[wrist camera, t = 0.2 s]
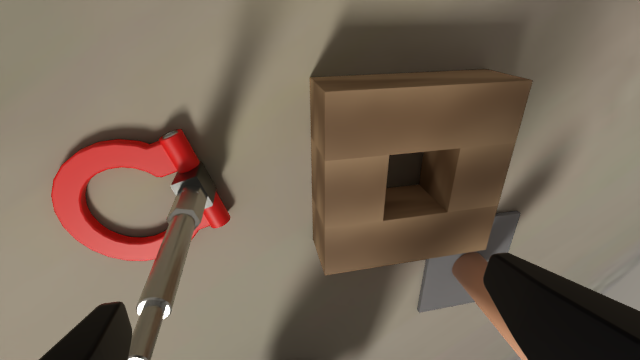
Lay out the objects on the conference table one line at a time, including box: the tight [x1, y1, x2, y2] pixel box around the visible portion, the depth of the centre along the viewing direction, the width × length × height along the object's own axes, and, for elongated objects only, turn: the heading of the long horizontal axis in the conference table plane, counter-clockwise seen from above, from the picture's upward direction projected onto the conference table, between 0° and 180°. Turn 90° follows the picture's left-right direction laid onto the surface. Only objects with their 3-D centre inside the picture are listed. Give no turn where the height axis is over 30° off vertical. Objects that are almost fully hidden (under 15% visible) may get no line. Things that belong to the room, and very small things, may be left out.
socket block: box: [310, 69, 533, 275], centre depth 22 cm, size 12×12×4 cm
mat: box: [417, 211, 521, 313], centre depth 30 cm, size 10×8×1 cm
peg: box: [452, 252, 528, 360], centre depth 26 cm, size 3×3×10 cm
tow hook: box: [51, 129, 230, 360], centre depth 16 cm, size 8×13×9 cm
